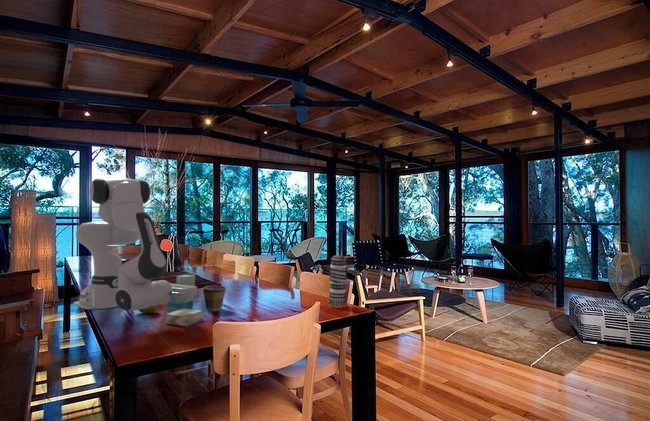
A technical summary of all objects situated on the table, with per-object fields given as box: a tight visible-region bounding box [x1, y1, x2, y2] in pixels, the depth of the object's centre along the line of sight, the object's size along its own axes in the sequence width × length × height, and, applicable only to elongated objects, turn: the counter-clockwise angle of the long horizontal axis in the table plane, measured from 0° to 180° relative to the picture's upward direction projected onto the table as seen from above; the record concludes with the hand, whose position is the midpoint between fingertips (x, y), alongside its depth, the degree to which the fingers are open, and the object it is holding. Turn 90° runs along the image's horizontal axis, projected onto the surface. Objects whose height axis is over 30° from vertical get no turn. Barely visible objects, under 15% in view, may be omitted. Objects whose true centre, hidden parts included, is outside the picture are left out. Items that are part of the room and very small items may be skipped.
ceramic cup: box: [202, 285, 226, 312], centre depth 171 cm, size 13×10×10 cm
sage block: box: [175, 274, 196, 302], centre depth 149 cm, size 5×5×10 cm
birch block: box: [165, 308, 204, 327], centre depth 149 cm, size 10×10×4 cm
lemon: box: [138, 305, 160, 314], centre depth 160 cm, size 11×8×8 cm
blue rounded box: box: [166, 297, 194, 314], centre depth 165 cm, size 12×4×12 cm, turn 162°
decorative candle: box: [328, 254, 348, 306], centre depth 182 cm, size 9×9×25 cm
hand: (187, 286), depth 150 cm, fingers closed on sage block, 5 cm apart
